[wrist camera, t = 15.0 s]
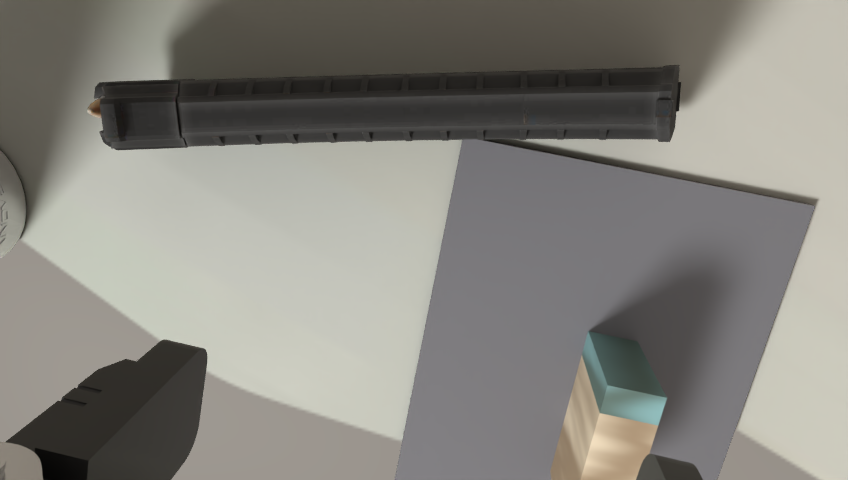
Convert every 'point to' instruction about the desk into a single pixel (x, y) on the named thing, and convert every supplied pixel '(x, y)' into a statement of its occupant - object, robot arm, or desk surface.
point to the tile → (609, 413)
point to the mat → (589, 307)
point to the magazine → (390, 108)
